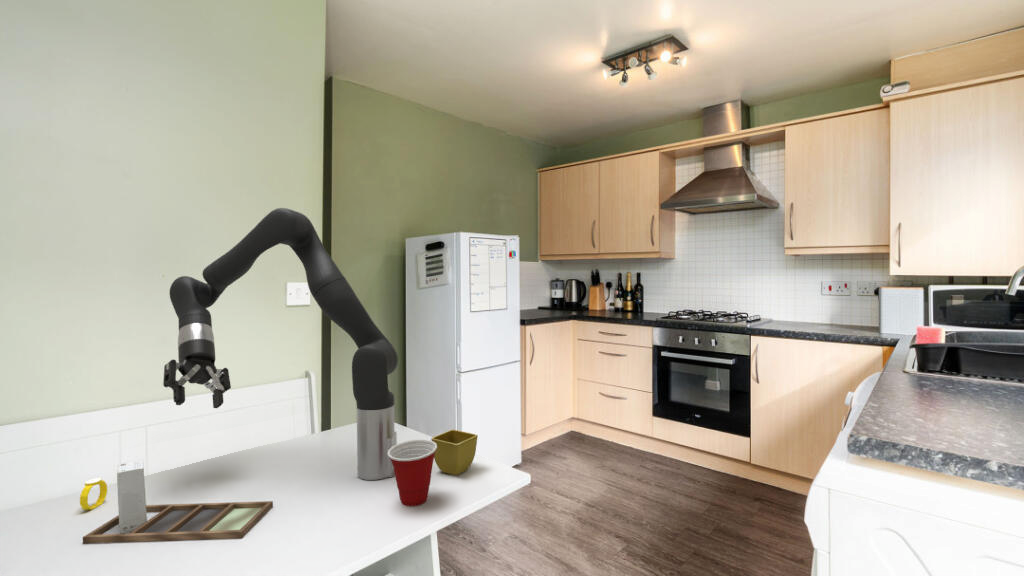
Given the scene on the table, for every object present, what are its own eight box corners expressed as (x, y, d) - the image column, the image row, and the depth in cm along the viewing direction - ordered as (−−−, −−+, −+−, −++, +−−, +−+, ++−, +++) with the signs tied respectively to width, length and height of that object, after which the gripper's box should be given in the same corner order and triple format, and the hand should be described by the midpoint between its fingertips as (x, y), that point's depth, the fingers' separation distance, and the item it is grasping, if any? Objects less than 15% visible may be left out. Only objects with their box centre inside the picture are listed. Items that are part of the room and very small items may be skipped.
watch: (91, 514, 99) (88, 487, 99) (76, 515, 99) (74, 488, 99) (111, 499, 105) (109, 473, 105) (98, 500, 105) (96, 474, 105)
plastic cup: (378, 501, 103) (377, 447, 103) (418, 485, 111) (418, 435, 111) (406, 518, 95) (405, 460, 95) (447, 499, 103) (447, 446, 103)
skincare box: (147, 527, 93) (146, 467, 93) (117, 535, 90) (116, 473, 90) (146, 516, 97) (145, 458, 97) (118, 523, 95) (117, 464, 95)
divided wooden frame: (272, 506, 101) (272, 501, 101) (241, 538, 88) (241, 531, 88) (134, 511, 100) (134, 505, 100) (82, 543, 87) (82, 537, 87)
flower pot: (479, 468, 121) (478, 434, 121) (457, 481, 113) (457, 444, 113) (452, 462, 125) (452, 429, 125) (430, 473, 118) (430, 438, 118)
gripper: (175, 332, 109) (177, 394, 101) (233, 343, 121) (239, 400, 113) (156, 347, 111) (156, 410, 103) (214, 357, 123) (219, 414, 115)
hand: (199, 405), depth 108 cm, fingers open, 8 cm apart
